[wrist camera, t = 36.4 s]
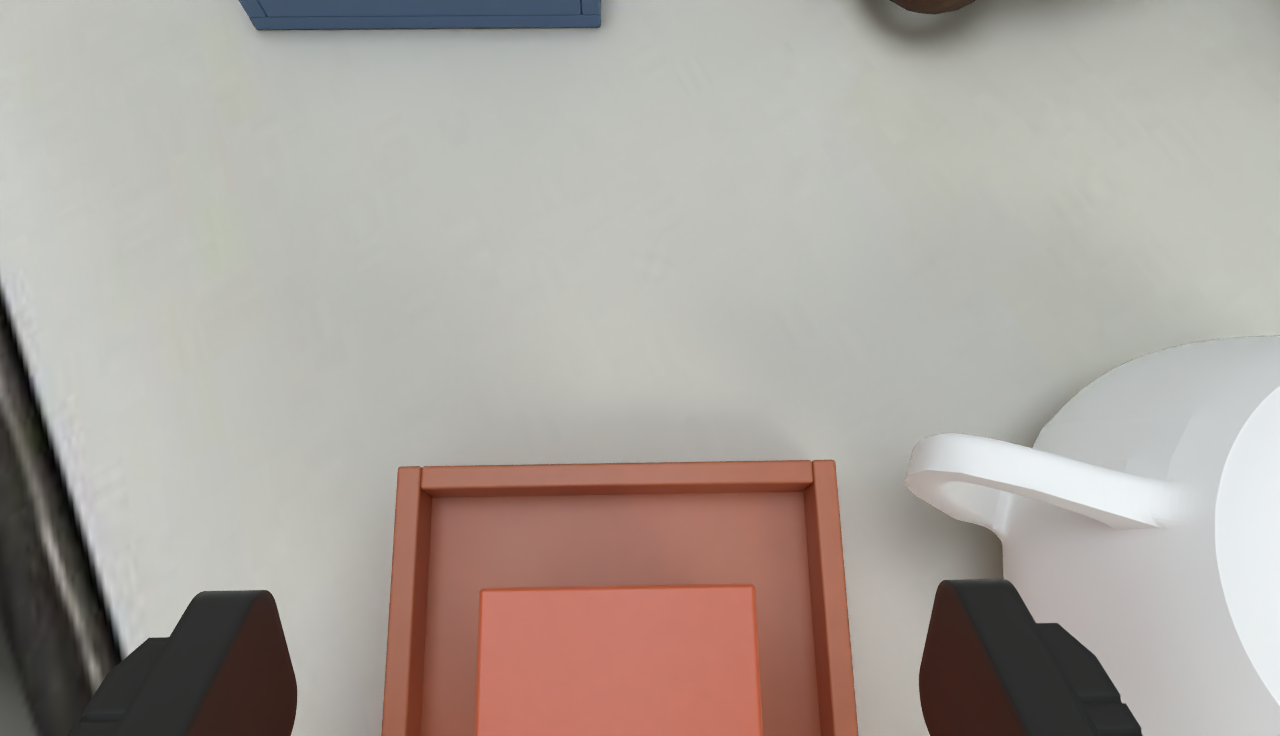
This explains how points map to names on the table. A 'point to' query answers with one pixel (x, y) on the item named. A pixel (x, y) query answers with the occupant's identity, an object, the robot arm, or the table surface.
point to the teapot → (1146, 529)
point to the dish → (932, 5)
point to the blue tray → (421, 13)
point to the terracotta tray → (619, 570)
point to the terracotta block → (618, 661)
